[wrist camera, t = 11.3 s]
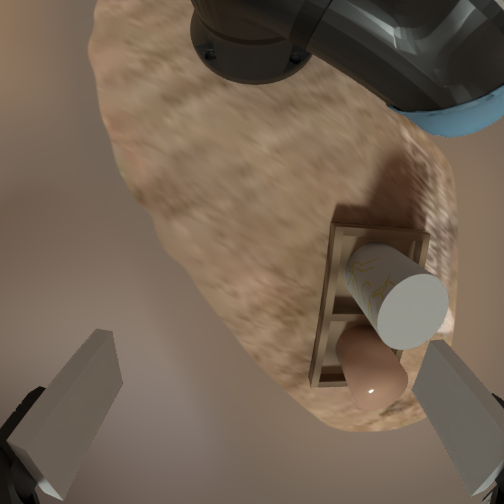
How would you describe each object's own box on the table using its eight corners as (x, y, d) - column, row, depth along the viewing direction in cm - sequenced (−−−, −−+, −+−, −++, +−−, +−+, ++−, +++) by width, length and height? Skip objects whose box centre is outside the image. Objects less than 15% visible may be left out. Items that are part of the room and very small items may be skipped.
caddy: (330, 222, 37) (335, 226, 34) (421, 230, 37) (430, 234, 34) (308, 377, 43) (310, 387, 40) (386, 373, 43) (392, 382, 40)
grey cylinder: (346, 242, 37) (383, 276, 25) (404, 241, 37) (454, 271, 25) (342, 303, 39) (371, 354, 27) (397, 299, 39) (439, 343, 27)
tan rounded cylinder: (340, 324, 40) (361, 367, 30) (386, 323, 40) (415, 363, 30) (331, 365, 42) (347, 412, 32) (375, 364, 42) (398, 407, 32)
